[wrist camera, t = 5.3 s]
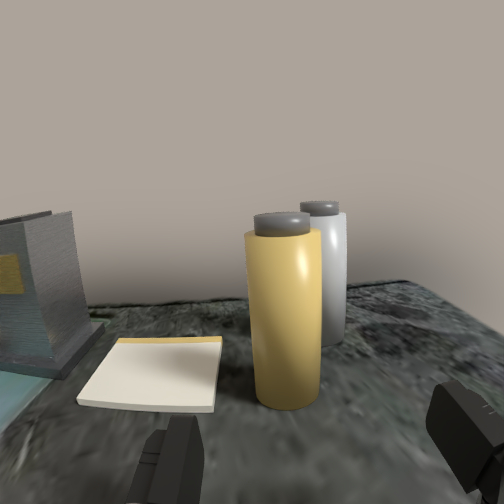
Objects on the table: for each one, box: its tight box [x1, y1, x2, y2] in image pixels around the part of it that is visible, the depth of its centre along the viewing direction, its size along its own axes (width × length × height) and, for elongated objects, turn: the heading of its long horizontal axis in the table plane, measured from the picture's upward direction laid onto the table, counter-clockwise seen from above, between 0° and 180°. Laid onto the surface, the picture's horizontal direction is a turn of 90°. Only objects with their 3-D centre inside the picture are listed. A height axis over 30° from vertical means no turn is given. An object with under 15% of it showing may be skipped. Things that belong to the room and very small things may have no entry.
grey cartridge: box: [300, 201, 347, 347], centre depth 28 cm, size 4×4×12 cm
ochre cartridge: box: [244, 212, 322, 410], centre depth 20 cm, size 4×4×12 cm
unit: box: [0, 211, 105, 380], centre depth 25 cm, size 10×10×13 cm
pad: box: [76, 336, 222, 413], centre depth 24 cm, size 10×10×1 cm
